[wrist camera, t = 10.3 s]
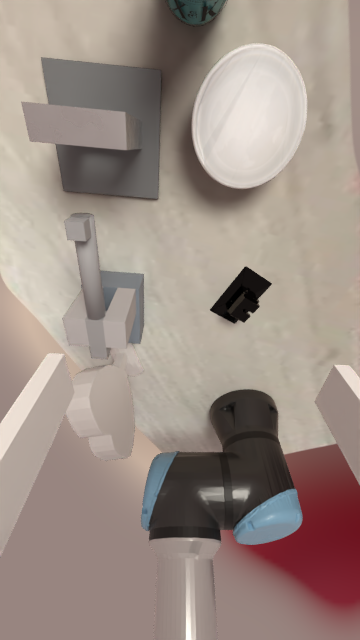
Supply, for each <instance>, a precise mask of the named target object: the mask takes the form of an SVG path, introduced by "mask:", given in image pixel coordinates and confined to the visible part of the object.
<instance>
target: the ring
mask: <svg viewBox="0 0 360 640" xmlns="http://www.w3.org/2000/svg"><path fill="white" fill-rule="evenodd" d="M21 103H22V107H23V112H24V116H25V121H26V126H27V130H28V135H29V139H30V141H31V142H42V143H53V144H64V145H75V146H86V147H96V148H107V149H118V150H134V149H142V121H140V120H138V119H137V118H135V117H133V116H131V115H130V114H128V113H126V112H121V111H110V110H100V109H90V108H80V107H70V106H60V105H49V104H39V103H29V102H21Z"/></svg>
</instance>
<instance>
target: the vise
mask: <svg viewBox="0 0 360 640" xmlns="http://www.w3.org/2000/svg"><path fill="white" fill-rule="evenodd" d="M64 223H65V229H66V234H67V240H74V241H75V246H76V252H77V258H78V264H79V270H80V276H81V282H82V285H81V286H82V290H81V292H80V293H79V295H78V296H77V298H76V299H75V301H74V302H73V303H72V305H71V306H70V308H69V309H68V311H67V312H66V314H65V315H64V317H63V318H62V319H63V323H64V327H65V331H66V336H67V340H68V344H69V345H75V346H90V352H91V358H95V359H108V356H109V353H110V351H111V348H124V349H127V345H128V343H139V344H140V342H141V337H142V333H143V328H144V274H136V273H123V272H109V271H100V265H99V256H98V247H97V239H96V230H95V221H94V215H93V214H89V213H75V214H72V215H71V217H69V218H68V219H66V220H65V221H64Z"/></svg>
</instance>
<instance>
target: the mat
mask: <svg viewBox="0 0 360 640" xmlns="http://www.w3.org/2000/svg"><path fill="white" fill-rule="evenodd" d="M41 61H42V66H43V72H44V78H45V84H46V90H47V96H48V101H49V105H60V106H70V107H80V108H90V109H100V110H110V111H121V112H126V113H128V114H130V115H131V116H133V117H135V118H137V119H138V120H140V121H142V149H134V150H118V149H107V148H96V147H86V146H75V145H64V144H56V148H57V154H58V160H59V166H60V172H61V177H62V183H63V189H64V191H71V192H83V193H95V194H107V195H118V196H130V197H142V198H154V199H158V190H159V150H160V109H161V70H156V69H147V68H137V67H128V66H118V65H109V64H100V63H90V62H81V61H71V60H62V59H52V58H43V57H41Z"/></svg>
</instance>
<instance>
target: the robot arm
mask: <svg viewBox="0 0 360 640" xmlns="http://www.w3.org/2000/svg"><path fill="white" fill-rule="evenodd" d="M74 393H75V392H74V388H73V385H72V381H71V377H70V373H69V370H68V366H67V363H66V359H65V355H64V354H55V353H48V354H47V356H46V357H45V358H44V360H43V361H42V363H41V365H40V366H39V367H38V369H37V370H36V372H35V373H34V375H33V376H32V378H31V379H30V381H29V382H28V384H27V385H26V386H25V388H24V389H23V391H22V392H21V394H20V395H19V397H18V398H17V400H16V401H15V403H14V404H13V406H12V407H11V409H10V410H9V412H8V413H7V414H6V416H5V418H4V419H3V420H2V422H1V423H0V557H1V554H2V552H3V550H4V548H5V546H6V543H7V541H8V539H9V536H10V534H11V532H12V530H13V528H14V526H15V523H16V521H17V519H18V517H19V514H20V512H21V510H22V508H23V506H24V504H25V501H26V499H27V497H28V494H29V493H30V490H31V488H32V486H33V484H34V481H35V479H36V477H37V475H38V473H39V470H40V468H41V466H42V464H43V461H44V459H45V457H46V455H47V453H48V450H49V448H50V446H51V444H52V442H53V439H54V437H55V435H56V433H57V431H58V428H59V426H60V424H61V422H62V420H63V417H64V415H65V413H66V411H67V409H68V406H69V404H70V402H71V400H72V398H73V395H74ZM315 403H316V405H317V407H318V409H319V411H320V412H321V414H322V416H323V418H324V420H325V422H326V424H327V425H328V427H329V429H330V431H331V433H332V435H333V436H334V438H335V440H336V442H337V444H338V446H339V447H340V449H341V451H342V453H343V455H344V457H345V459H346V460H347V462H348V464H349V466H350V468H351V470H352V472H353V473H354V475H355V477H356V479H357V481H358V483H359V485H360V378H359V377H358V376H357V374H356V373H355V372H354V371H353V369H352V368H351V367H350V366H349V365H334V366H333V368H332V370H331V371H330V373H329V375H328V377H327V379H326V381H325V383H324V385H323V387H322V389H321V391H320V392H319V394H318V396H317V398H316V400H315ZM210 414H211V422H212V425H213V427H214V429H215V431H216V433H217V435H218V438H219V440H220V442H221V444H222V447H223V452H179V451H176V452H171V453H160V454H158V455H157V456H156V457H155V458H154V459H153V461H152V463H151V466H150V470H149V473H148V477H147V481H146V486H145V492H144V497H143V508H142V515H141V524H142V527H143V529H145V530H146V531H149V530H150V536H149V545H150V546H151V548H152V550H153V551H154V553H155V554H156V556H157V559H158V561H157V562H158V563H157V581H156V601H155V621H154V640H218V632H217V617H216V601H215V586H214V571H213V557H214V555H215V553H216V552H217V550H218V549H219V547H220V546H221V536H220V530H233V535H234V537H235V540H236V541H237V542H238V543H241V544H247V545H254V544H262V543H266V542H271V541H274V540H278V539H280V538H283V537H286V536H288V535H290V534H291V533H293V532H294V531H296V530H297V529H298V528H299V526H300V525H301V522H302V512H301V508H300V505H299V501H298V497H297V491H296V489H295V488H294V484H293V481H292V478H291V475H290V472H289V469H288V466H287V463H286V460H285V457H284V454H283V451H282V448H281V445H280V442H279V439H278V410H277V408H276V405H275V402H274V400H273V399H272V398H271V397H270V396H269V395H267V394H265V393H263V392H260V391H256V390H238V391H234V392H230V393H227V394H225V395H223V396H221V397H220V398H219V399H217V400H216V401H215V402H214V403H213V405H212V407H211V410H210Z"/></svg>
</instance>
